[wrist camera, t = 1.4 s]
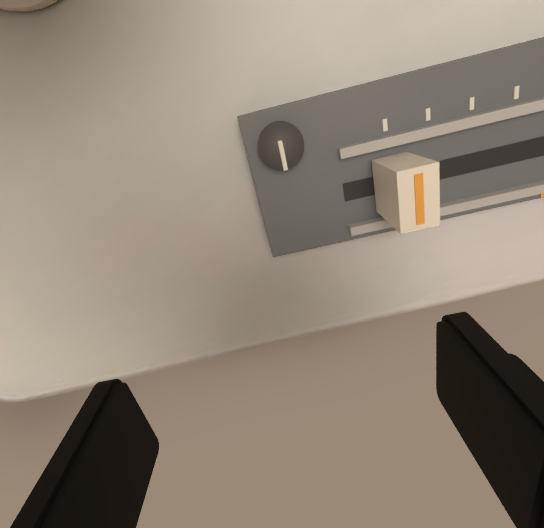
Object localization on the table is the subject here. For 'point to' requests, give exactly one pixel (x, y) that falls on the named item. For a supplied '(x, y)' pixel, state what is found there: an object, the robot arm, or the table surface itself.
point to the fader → (407, 191)
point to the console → (400, 145)
